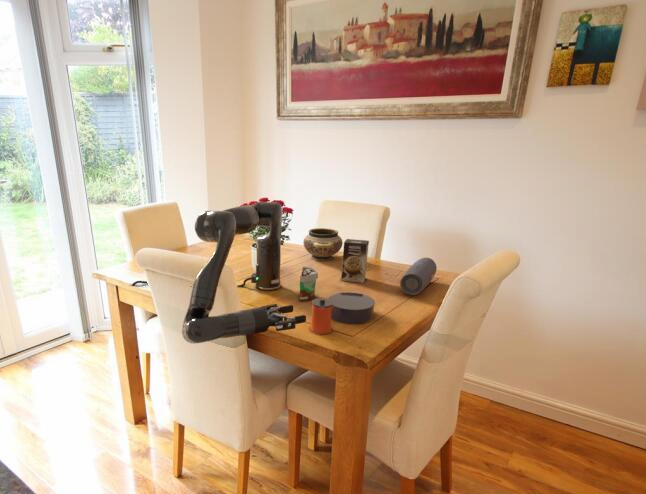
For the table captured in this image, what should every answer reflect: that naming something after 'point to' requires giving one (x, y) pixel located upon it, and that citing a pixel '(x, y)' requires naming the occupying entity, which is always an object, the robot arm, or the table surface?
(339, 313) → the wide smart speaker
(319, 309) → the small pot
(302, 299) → the food container
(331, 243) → the ceramic bowl
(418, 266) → the bluetooth speaker
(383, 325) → the table surface
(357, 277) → the coffee box
